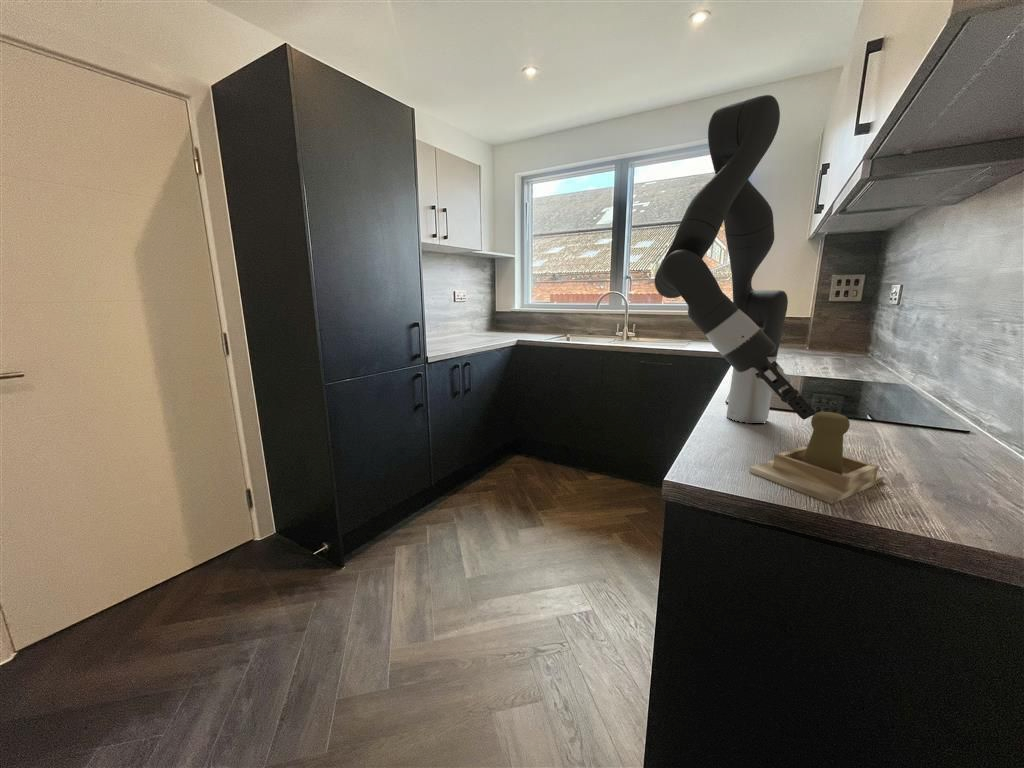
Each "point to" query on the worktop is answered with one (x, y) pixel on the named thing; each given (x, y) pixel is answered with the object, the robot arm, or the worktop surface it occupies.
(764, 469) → the stand
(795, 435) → the worktop surface
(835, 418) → the cork
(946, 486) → the worktop surface
